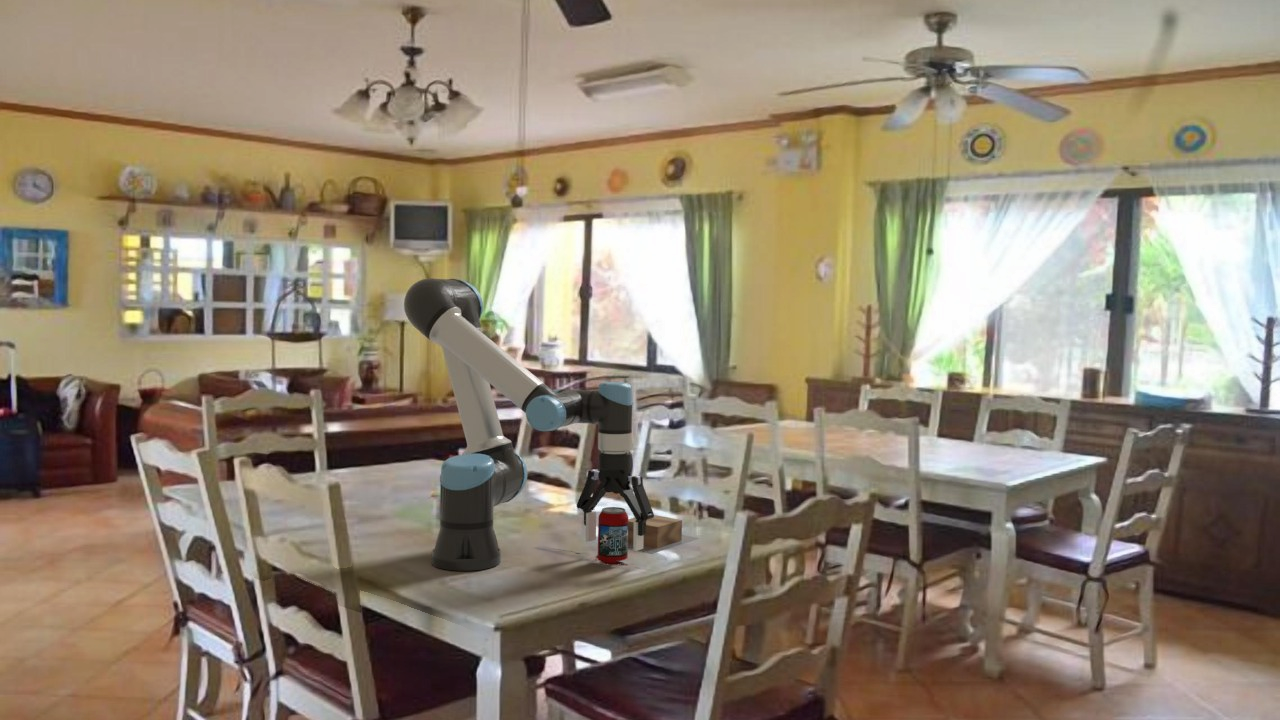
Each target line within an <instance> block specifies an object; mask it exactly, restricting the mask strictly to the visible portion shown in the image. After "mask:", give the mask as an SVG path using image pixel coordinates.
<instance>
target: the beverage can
mask: <svg viewBox="0 0 1280 720" xmlns="http://www.w3.org/2000/svg"><path fill="white" fill-rule="evenodd" d="M628 519H629V515H628V513H627V511H626V509H625V508H624V507H619V506H607V507H602V508H601V512H600V513H599V515H598V523H597V524H598V526H597V529H598V531H597V559H598V561H600V562H601V563H602V564H605V565H607V564H609V566H617V565H618V564H619V565H622V564H623V563H624V562H623V561H624V560H626V559H628V553H629V549H628ZM619 565H618V566H619Z"/></svg>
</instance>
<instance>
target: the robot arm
mask: <svg viewBox="0 0 1280 720" xmlns="http://www.w3.org/2000/svg"><path fill="white" fill-rule="evenodd" d="M403 309H404V313H405V316H406V317H407V320H408V321H409V323H410V324H411V325H412V326H413V327H414V328H415V329H417V330H418V331H419V332H420V333H421V335H423V336H424V337H425V338H427V339H428V340H429V341H431V342H432V343H435V344H437V345H438V346H440V347H441V349H442V353H443V357H444V361H445V364H446V369H447V373H448V377H449V380H450V383H451V387H452V388H451V389H452V390H453V395H454V399H455V402H456V406H457V410H458V414H459V418H460V422H461V426H462V431H463V433H464V437H465V441H466V448H465V450H464V451H463V454H458V455H457V454H456V455H454V456H451V457H449V458H447V459H446V460H444V461H443V462H442V464H441V468H440V474H439V483H440V485H439V487H440V488H439V490H440V492H439V493H440V495H439V496H440V499H439V502H440V503H439V505H440V506H439V508H440V509H439V510H440V511H439V513H440V514H439V530H438V531H439V532H438V534H437V538H436V541H435V545H434V548H433V549H432V552H431V564H432V566H434V567H435V568H438V569H442V570H447V571H454V572H455V571H457V572H458V571H459V572H463V571H464V572H467V571H468V572H470V571H479V570H480V571H481V570H486V569H491V568H494V567H496V566H498V565H500V564H501V557H502V556H501V554H502V552H501V549H500V547H499V544H498V540H497V536H496V533H495V528H494V507H496V506H499V505H501V504H506V503H508V502H510V501H512V500H513V499H515V498H516V497H517V496H518V495H520V494H521V493H522V492H523V490H524V488H525V486H526V484H527V480H528V468H527V464H526V463H525V460H524V459H523V457H522V456H520V455H519V454H518V453H517V452H515V449H514V445H513V442H512V440H511V439H509V438H507V437H505V436H504V433H503V430H502V426H501V425H502V424H501V422H500V418H499V414H498V412H497V411H498V410H497V407H496V403H495V400H494V396H493V395H494V394H493V392H492V388H491V386H492V387H493V388H494V389H496V390H497V391H498V392H500V393H501V394H502V395H503V396H504V397H505V398H507V399H508V400H509V401H510V402H512V403H513V404H514V405H515V406H516V407H517V408H519V409H520V410H521V411H522V412H524V413H525V417H526V421H527V422H528V424H529V425H530V427H532V429H535V430H536V431H539V432H549V431H550V432H551V431H552V432H553V431H556V430H558V429H560V428H563V427H567V426H570V425H573V424H591V425H595V424H596V425H598V429H597V430H598V433H597V434H598V435H597V436H598V437H597V438H598V440H597V449H598V451H599V452H598V453H597V454H598V455H597V461H598V462H597V466H598V468H599V469H598V468H594V469H589V470H588V471H587V477H586V478H587V479H586V482H585V484H584V486H583V489H582V491H581V493H580V496H579V498H578V500H577V502H576V503H577V504H576V508H577V509H581V510H582V512H583V524H584V525H583V526H585V542H591V541H596V540H597V511H595V510H596V509H595V508H596V506H597V505H599V502H600V501H601V500H602V498H603V497H604V496H605V494H606V493H613V494H615V495H616V494H617V495H618V494H619V495H620V496H621V497H622V498H623V500H624V501H625V502H626V504H627V506H628V508H629V510H630V511H631V512H632V515H633V516H634V518H636V519H637V520H636V521H634V532H633V550H632V551H634V552H639V551H638V550H641V549H643V537H644V535H645V534H646V521H647V520H648V519H651V518H653V517H654V515H655V514H654V511H653V508H652V506H651V503H650V500H649V498H648V494H647V492H646V489H645V487H644V480H643V476H642V475H641V474H639V475H631V469H632V462H633V461H632V460H633V458H632V457H633V454H632V452H631V450H632V447H633V440H632V439H633V438H632V437H633V436H632V432H633V431H632V430H633V428H632V427H633V404H634V403H633V392H632V386H631V384H629V383H628V382H624V381H603V382H600V383H599V384H598V389H597V390H587V389H586V390H583V389H570V388H559V389H552V388H551V387H549V386H548V385H546V384H545V382H543V381H542V380H541V379H539V378H538V377H537V376H536V375H535V374H533V373H532V372H531V371H529V369H527V368H526V367H525V366H524V365H522V364H521V363H520V362H518V360H516V359H515V358H514V357H513V356H512V355H510V354H509V353H508V352H506V351H505V350H504V349H503V348H502V347H501V346H499V345H497V343H495V342H494V341H493V340H492V339H491V338H489V337H488V336H487V335H485V334H484V333H483V332H482V326H481V321H480V320H481V316H482V314H483V313H484V302H483V299H482V296H481V294H480V292H479V290H478V289H477V288H476V287H475V286H474V285H472V284H471V283H469V282H467V281H464V280H461V279H457V278H430V277H429V278H423V279H420V280H418V281H416V282H415V283H413V284H412V285H411V286H410V287H409V289H408V290H407V292H406V294H405V296H404V302H403ZM598 481H599V482H600V483H599V484H598V485H597V483H598ZM596 486H597V487H596ZM595 488H596V489H595ZM594 490H595V491H594ZM593 492H594V493H593Z"/></svg>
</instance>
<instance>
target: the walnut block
mask: <svg viewBox="0 0 1280 720" xmlns="http://www.w3.org/2000/svg"><path fill="white" fill-rule="evenodd" d="M636 520H637V519H636V518H635V517H632V518H628V542H630V543H633V532H634V521H636ZM682 530H683V520H682V519H679V518H671V517H667V516H663V515H662V516H660V515H656V514H654V517H653V518H651V519H648V520H647V521H646V534H645V535H644V537H643V545H644V546H649V547H654V548H660V547H663V546H666V545H669V544H672V543H675V542H679V541H682V535H683V533H682V532H683V531H682Z"/></svg>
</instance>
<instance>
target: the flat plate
mask: <svg viewBox="0 0 1280 720" xmlns="http://www.w3.org/2000/svg"><path fill="white" fill-rule="evenodd" d="M699 539H701V538H700V537H697V536H696V537H695V536H690V535H685V534H682V541H679V542H675V543H672V544H669V545H666V546H663V547H660V548H654V547H649V546H644V545H643V549H641V550H638V551H637V552H639V553H640V552H641V553H645V554H650V555H653V554H655V553H660V552H662V551H665V550H669V549H671V548H674V547H678V546H681V545H684V544H687V543H689V542H693V541H697V540H699ZM628 550H631V551H633V543H630V542H628Z"/></svg>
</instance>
